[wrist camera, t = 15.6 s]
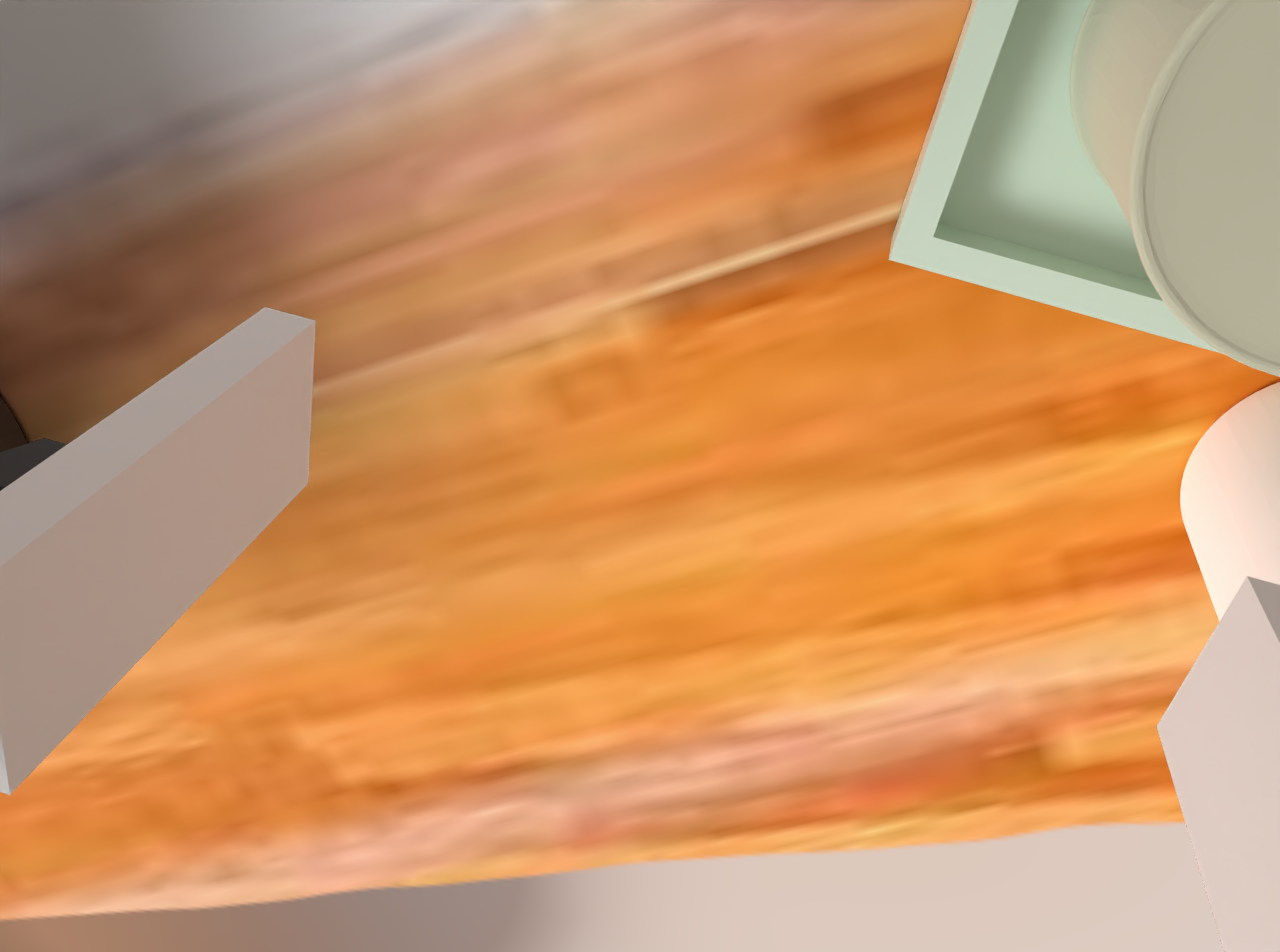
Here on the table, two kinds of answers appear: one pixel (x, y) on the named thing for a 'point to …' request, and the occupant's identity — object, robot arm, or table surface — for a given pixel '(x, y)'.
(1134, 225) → the can
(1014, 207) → the tray
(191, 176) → the table surface
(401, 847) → the table surface
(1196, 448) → the mug
